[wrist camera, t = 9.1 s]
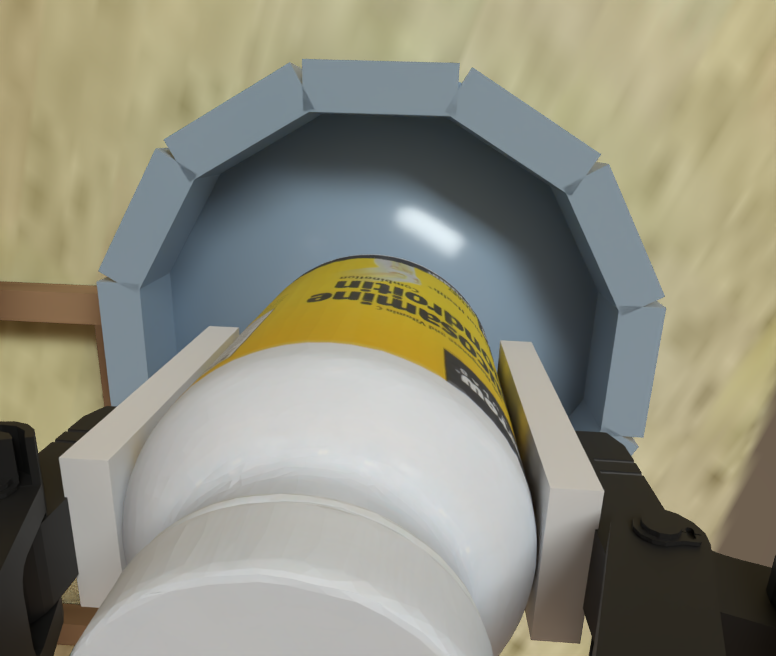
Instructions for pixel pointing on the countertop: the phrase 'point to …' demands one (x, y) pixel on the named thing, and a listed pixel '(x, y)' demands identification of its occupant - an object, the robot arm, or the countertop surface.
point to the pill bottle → (331, 486)
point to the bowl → (390, 225)
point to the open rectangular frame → (84, 309)
